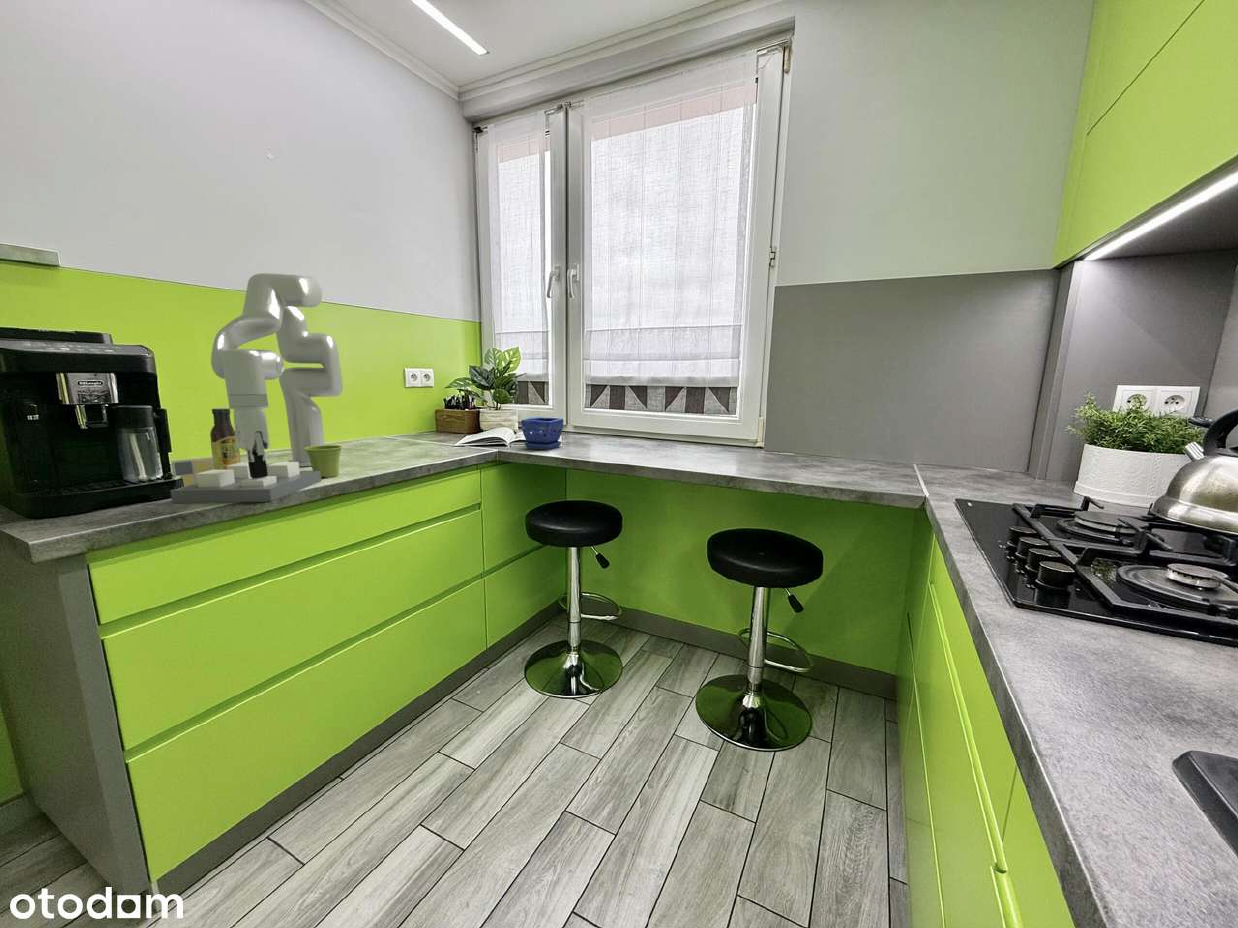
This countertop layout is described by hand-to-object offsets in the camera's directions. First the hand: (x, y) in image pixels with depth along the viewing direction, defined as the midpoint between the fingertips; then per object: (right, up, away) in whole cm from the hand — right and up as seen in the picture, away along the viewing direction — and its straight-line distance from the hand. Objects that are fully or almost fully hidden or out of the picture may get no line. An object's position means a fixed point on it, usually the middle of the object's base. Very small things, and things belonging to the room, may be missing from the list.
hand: (259, 476), depth 119 cm
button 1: (-10, -3, 0) cm, 10 cm away
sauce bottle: (-26, -1, +23) cm, 34 cm away
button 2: (-11, -1, +9) cm, 14 cm away
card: (-21, -3, +7) cm, 23 cm away
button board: (-5, -4, +5) cm, 8 cm away
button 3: (0, -4, +1) cm, 4 cm away
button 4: (-1, -1, +10) cm, 10 cm away
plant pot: (+2, -1, +24) cm, 24 cm away
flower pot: (+58, +10, +79) cm, 98 cm away
